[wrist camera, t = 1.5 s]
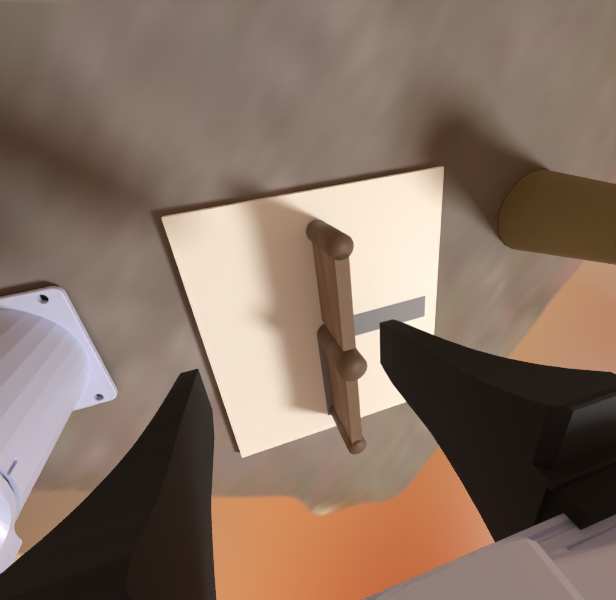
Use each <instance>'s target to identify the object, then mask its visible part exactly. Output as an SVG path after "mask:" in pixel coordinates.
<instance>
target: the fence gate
mask: <svg viewBox="0 0 616 600" xmlns="http://www.w3.org/2000/svg"><path fill="white" fill-rule="evenodd" d="M306 235H307V237H308V239H309V240H311V241H312V245H313V253H314V261H315V269H316V277H317V285H318V293H319V300H320V308H321V316H322V321H323V323H324V324H325V326H326V327H327V328H328V330H329V331H330V333H331V334H332V336H333V337H334V338H335V340H336V341H337V343H338V344H339V346H340V347H341V348H342V350H343V351H347V350H350V349H354V348H356V342H355V329H354V316H353V302H352V289H351V276H350V262H349V256H350V255H351V253H352V251H353V248H354V243H353V240H352V238H351V237H350V236H348V235H347V234H345V233H343V232H341V231H340V230H338V229H336V228H334V227H333V226H331V225H329V224H327V223H326V222H324V221H322V220H319V219H317V220H313V221H311V222H310V223H309V224H308V226H307V228H306Z"/></svg>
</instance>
